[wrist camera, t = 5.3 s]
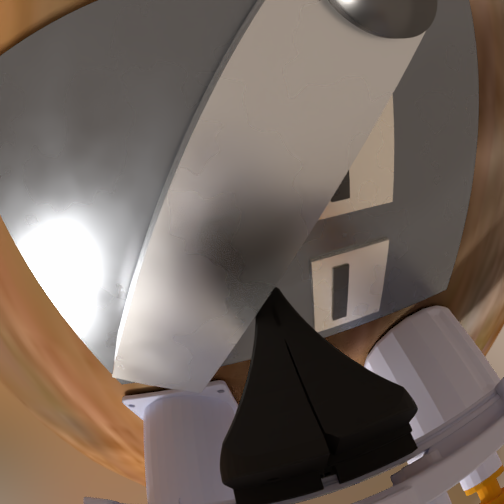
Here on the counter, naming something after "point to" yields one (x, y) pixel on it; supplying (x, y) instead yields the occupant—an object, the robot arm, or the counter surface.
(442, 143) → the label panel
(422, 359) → the soap bottle
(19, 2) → the counter surface
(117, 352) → the white long bar
